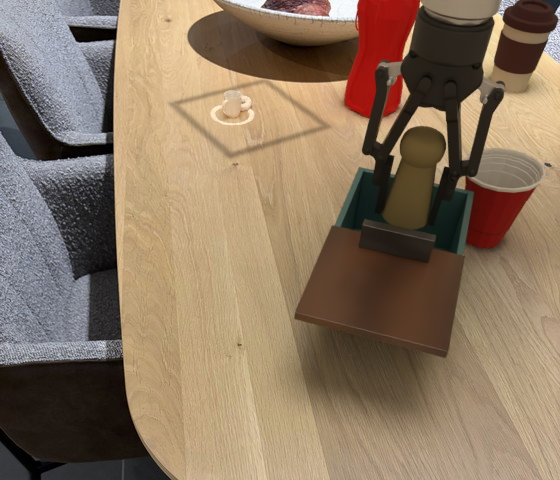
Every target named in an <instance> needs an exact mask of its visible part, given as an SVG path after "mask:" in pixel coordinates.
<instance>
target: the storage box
mask: <svg viewBox="0 0 560 480" xmlns="http://www.w3.org/2000/svg"><path fill="white" fill-rule="evenodd" d="M373 172H374V169H370V168H366V167H362V166H358V169H357V171H356V173H355V175H354V177H353V180H352V183H351V185H350V187H349V190H348V192H347V194H346V197H345V199H344V201H343V204H342V206H341V209H340V211H339V214H338V215H337V218H336V221H335V223H334V224H333V225H334V226H338V227H342V228H347V229H351V230H355V231H360V232H361V230H362V225H363V222H364V220H365V219H367V220H371V221H376V222H380V223H385V224H389V223H388V222H387V221H386V220H385V219H384V218H383V216H382V211H381V214H378V213H375V208H376V203H377V198H378V194H379V189H380V186H376V185H373V184H372V177H373ZM394 176H395V174H394V173H391V175H390V179H389V184H388V188H387V193H386V197H385V200H386V198H387V195H388V192H389V190H390V187H391V184H392V182H393V179H394ZM438 186H439V183H436V182H434V188H433V195H432V203H431V210H432V207H433V204H434V200H435V197H436V193H437V190H438ZM473 197H474V192H473V191H468V190H465V188H460V187H456V188H455V191H454V195H453V198H452V199H451V200H450V201H445V200H442V201H441V204H440V207H439V211H438V214H437V217H436V221H435V224H434V226H431V225H428V223H427V224H426V225H425V226H424V227H421V228H419V229H412V230H415V231H420V232H424V233H429V234H433V235H436V239H435V243H434V246H433V249H438V250H442V251H446V252H451V253H455V254H459V255H464V253H465V248H466V243H467V242H466V237H467V231H468V225H469V220H470V214H471V208H472V203H473ZM384 203H385V202H384ZM383 206H384V205H383ZM431 210H430V214H431ZM428 222H429V221H428ZM389 225H391V224H389Z"/></svg>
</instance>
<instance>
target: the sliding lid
mask: <svg viewBox="0 0 560 480" xmlns="http://www.w3.org/2000/svg"><path fill="white" fill-rule="evenodd" d="M334 225H335V224H332V225H331V226H330V229H329V231H328V233H327V236H326V238H325V241H324V243H323V245H322V247H321V249H320V252H319V254H318V256H317V259H316V262H315V264H314V265H313V269H312V271H311V273H310V276H309V278H308V280H307V283H306V285H305V287H304V290H303V292H302V295H301V297H300V299H299V302H298V304H297V305H296V308H295V311H294V315H293V316H294V317H293V319H294V320H296V321H300V322H304V323H306V324H307V323H308V324H310V325H311V324H312V325H315V326H320V327H323V328H327V329H331V330H335V331H339V332H341V333H342V332H343V333H346V334H350V335H355V336H358V337H362V338H366V339H370V340H374V341H378V342H381V343H385V344H389V345H392V346H397V347H401V348H405V349H408V350H413V351H417V352H420V353H424V354H428V355H432V356H434V357H435V356H436V357H438V358H439V357H440V358H442V359H446V358H447V356H448V355H449V349H450V344H451V337H452V334H453V333H452V332H453V327H454V322H455V315H456V309H457V305H458V304H457V303H458V298H459V291H460V287H461V286H460V285H461V282H462V281H461V280H462V274H463V269H464V262H465V256H466V255H464V254H463V255H459V254H455V253H451V252H446V251H442V250H438V249H433V246H434V243H435V239H436V235H433V234H429V233H424V232H420V231H415V230H411V229H407V228H402V227H398V226H393V225H389V224H385V223H380V222H376V221H371V220H367V219H365V220H364V222H363V225H362V230H361V232H360V231H355V230H351V229H347V228H342V227H338V226H334Z"/></svg>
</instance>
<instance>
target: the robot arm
mask: <svg viewBox="0 0 560 480" xmlns="http://www.w3.org/2000/svg"><path fill="white" fill-rule="evenodd" d="M420 4H421V5H420V8H419V9H418V11H417V15H416V20H415V23H414V25H413V28H412V29H413V30H412V35H411V39H410V45H409V49H408V52H407V54H406V55H405V56H404V57H403V61H402V62H393V63H390V62H389V61H388V60H386V59H384V60H381V61H380V63H379V65H378V67H377V69H376V71H375V84H376V94H375V98H374V102H373V106H372V110H371V114H370V118H369V117H368V118H369V119H368V123H367V127H366V131H365V135H364V138H363V143H362V147H361V153H362V154H363V155H364V156H370V157H372V159H374V168H373V170H374V172H373V177H372V184H373V185H376V186H380V189H379V194H378V198H377V203H376V208H375V213H378V214H381V211H382V208H383V205H384V202H385V197H386V193H387V188H388V184H389V179H390V175H391V174H392V169H393V166H394V161H395V155H394V154H393V155H392V154H391V153H392V151H393V149H395V146H396V144H397V143H398V141H399V139H400V138H401V136H402V134H404V133H403V132H404V131H405V129H406V128H407V126H408V124H409V123H410V121H411V119H412V117H413V116H414V115H415V113H416V111H417V110H418V108H424V109H428V108H433V109H435V110H437V111H439V112H443V113H444V112H445V123H446V134H447V135H446V137H447V156H448V157H447V159H448V166H446V165H445V166H443V170H442V173H441V177H440V180H439V183H438V184H439V186H438V190H437V193H436V197H435V200H434V204H433V207H432V210H431V214H430V218H429V222H428V225H431V226H434V224H435V221H436V217H437V214H438V211H439V207H440V204H441V201H442V200H445V201H450V200H451V199H452V198H453V195H454V191H455V188H457V185H458V181H459V180H460V179H461V178H462V177H465V176H469V177H475V176H476V175H477V173H478V169H479V165H480V161H481V158H482V154H483V150H484V149H485V146H486V143H487V138H488V134H489V130H490V127H491V123H492V119H493V116H494V113H495V112H496V110H497V108H498V107H499V106H500V104H501V103H502V101H503V100H504V97H505V83H504V82H503V81H497V82H493V81H492V80H490V79H491V78H488V77H486V76H485V73H484V68H483V66H484V65H483V64H484V61H485V57H486V54H487V50H488V47H489V43H490V41H491V37H492V34H493V31H494V28H495V24H496V21H495V19H494V16H495V15H497V14H498V13H499V12H500V7H501V4H502V0H420ZM399 75H402V77H403V82H404V84H405V86H406V88H407V90H408V92H409V95H408V97H407V99H406V100H405V102H404V104H403V106H402V108H401V109H400V111H399V113H398V114H397V117H396V119H395V120H394V122H393V123H392V125H391V127H390V129H389V131H388V132H387V134H386V136H385V137H384V138H383V141H382V143H381V142H379V141H378V136H379V132H380V129H381V124H382V121H383V118H384V117H383V113H384V109H385V106H386V102H387V98H388V94H389V90H390V86H392V85H394V84H395V82H396V79H397V76H399ZM478 90H479V93H480V94H479V102H480V103H481V108H480V109H481V110H480V113H479V117H478V121H477V125H476V129H475V134H474V138H473V142H472V146H471V150H470V153H471V154H470V153H469V154H470V158H469V160H464V159H463V148H462V147H463V145H462V143H463V141H462V114H461V111H462V103H463V102H464V101H465V100H466V99H467V98H469V97H470V96H471V95H472V94H474V93H475V92H476V91H478Z"/></svg>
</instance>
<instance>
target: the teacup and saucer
mask: <svg viewBox="0 0 560 480" xmlns="http://www.w3.org/2000/svg"><path fill="white" fill-rule="evenodd" d="M252 105H253V100H252V99H251V98H250V97H249V96H248V95H243V94H242V93H241V92H240V91H238V90H227V91H225V92H224V93H223V101H222V103H221V104H218V105H216V106H214V107H213V108H212V109H211V110H210V112H209V116H210V118H211V119H212V120H213V121H214V122H216V123H218V124H221V125H224V126H231V127H236V126H242V125H247V124H249V123H251V122H252V121H253V120H254V119H255V117H256V115H255V111H254V110H253V109H252V108H251V107H252ZM220 109H222V112H223V114H225V115H226V117H228V118H230V119H231V118H232V119H235V118H238V117H239V116H240V114H241V112H245V111H247V113H248V114H249V116H248V118H247V119H245V120H243V121H240V122H226V121H223V120H221V119H219V118H218V117H217V115H216V113H217V111H218V110H220Z"/></svg>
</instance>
